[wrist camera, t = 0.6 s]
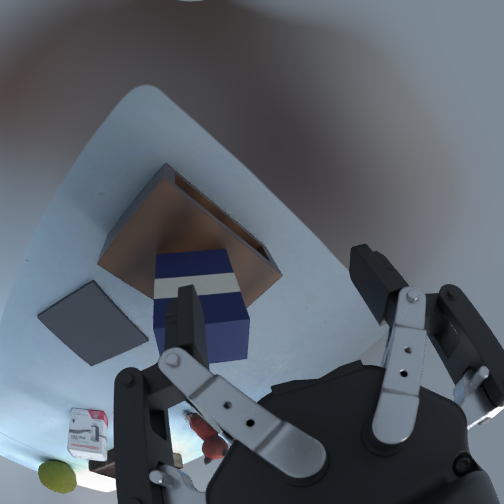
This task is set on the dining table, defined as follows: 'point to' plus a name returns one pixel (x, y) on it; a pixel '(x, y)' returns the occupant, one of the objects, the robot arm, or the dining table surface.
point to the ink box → (88, 434)
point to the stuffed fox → (208, 438)
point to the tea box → (204, 300)
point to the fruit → (57, 476)
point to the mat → (92, 325)
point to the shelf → (182, 237)
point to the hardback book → (109, 465)
